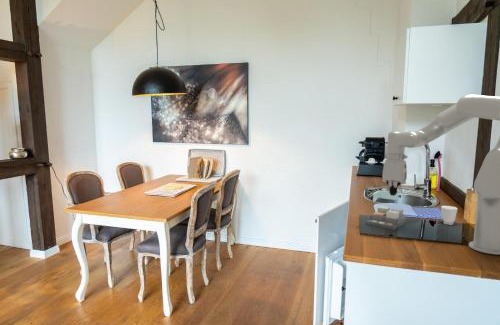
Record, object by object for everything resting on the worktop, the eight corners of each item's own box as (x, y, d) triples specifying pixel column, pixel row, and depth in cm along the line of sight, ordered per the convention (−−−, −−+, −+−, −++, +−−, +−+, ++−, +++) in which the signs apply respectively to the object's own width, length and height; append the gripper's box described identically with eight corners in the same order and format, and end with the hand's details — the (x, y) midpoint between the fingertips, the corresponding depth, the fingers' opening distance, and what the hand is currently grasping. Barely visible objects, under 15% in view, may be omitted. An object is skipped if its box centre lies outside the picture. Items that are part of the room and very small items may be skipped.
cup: (439, 224, 158) (440, 207, 157) (440, 219, 166) (441, 204, 166) (456, 226, 154) (457, 209, 153) (456, 221, 163) (457, 205, 162)
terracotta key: (385, 219, 161) (385, 213, 160) (382, 221, 157) (382, 215, 157) (376, 217, 164) (376, 211, 163) (372, 219, 160) (373, 213, 160)
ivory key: (399, 217, 156) (399, 211, 156) (396, 219, 153) (396, 213, 152) (389, 216, 159) (389, 210, 159) (386, 218, 156) (386, 212, 156)
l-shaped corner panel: (372, 205, 197) (373, 193, 196) (377, 202, 207) (377, 190, 206) (393, 208, 190) (394, 195, 189) (397, 204, 200) (397, 192, 199)
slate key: (403, 215, 161) (403, 209, 160) (400, 217, 157) (400, 211, 157) (393, 213, 164) (393, 208, 163) (390, 215, 160) (390, 209, 160)
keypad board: (405, 222, 161) (405, 214, 161) (394, 230, 148) (394, 222, 148) (379, 217, 170) (379, 210, 169) (366, 224, 157) (366, 216, 157)
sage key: (389, 213, 165) (390, 207, 165) (386, 214, 161) (386, 209, 161) (380, 211, 168) (380, 206, 168) (377, 213, 165) (377, 207, 164)
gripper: (414, 158, 151) (411, 196, 153) (382, 155, 161) (380, 191, 163) (409, 159, 145) (407, 198, 147) (376, 156, 155) (374, 194, 157)
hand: (393, 195), depth 155 cm, fingers closed
